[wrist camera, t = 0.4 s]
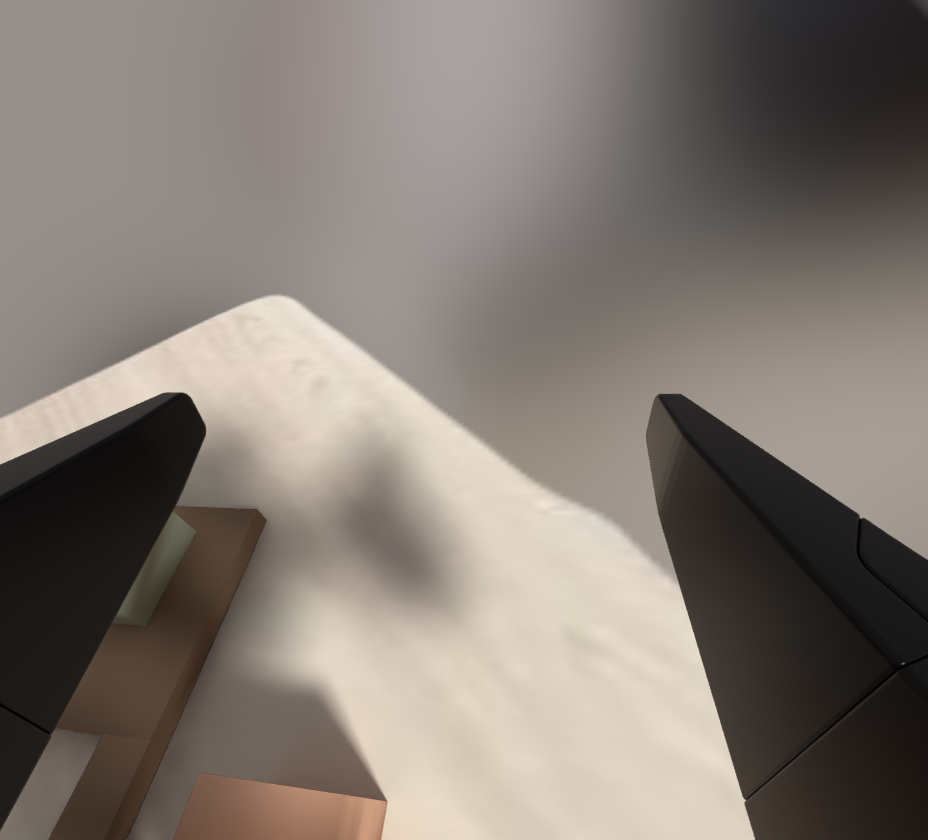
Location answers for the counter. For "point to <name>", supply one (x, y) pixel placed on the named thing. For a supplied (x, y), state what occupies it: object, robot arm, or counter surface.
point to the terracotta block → (275, 813)
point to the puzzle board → (152, 664)
